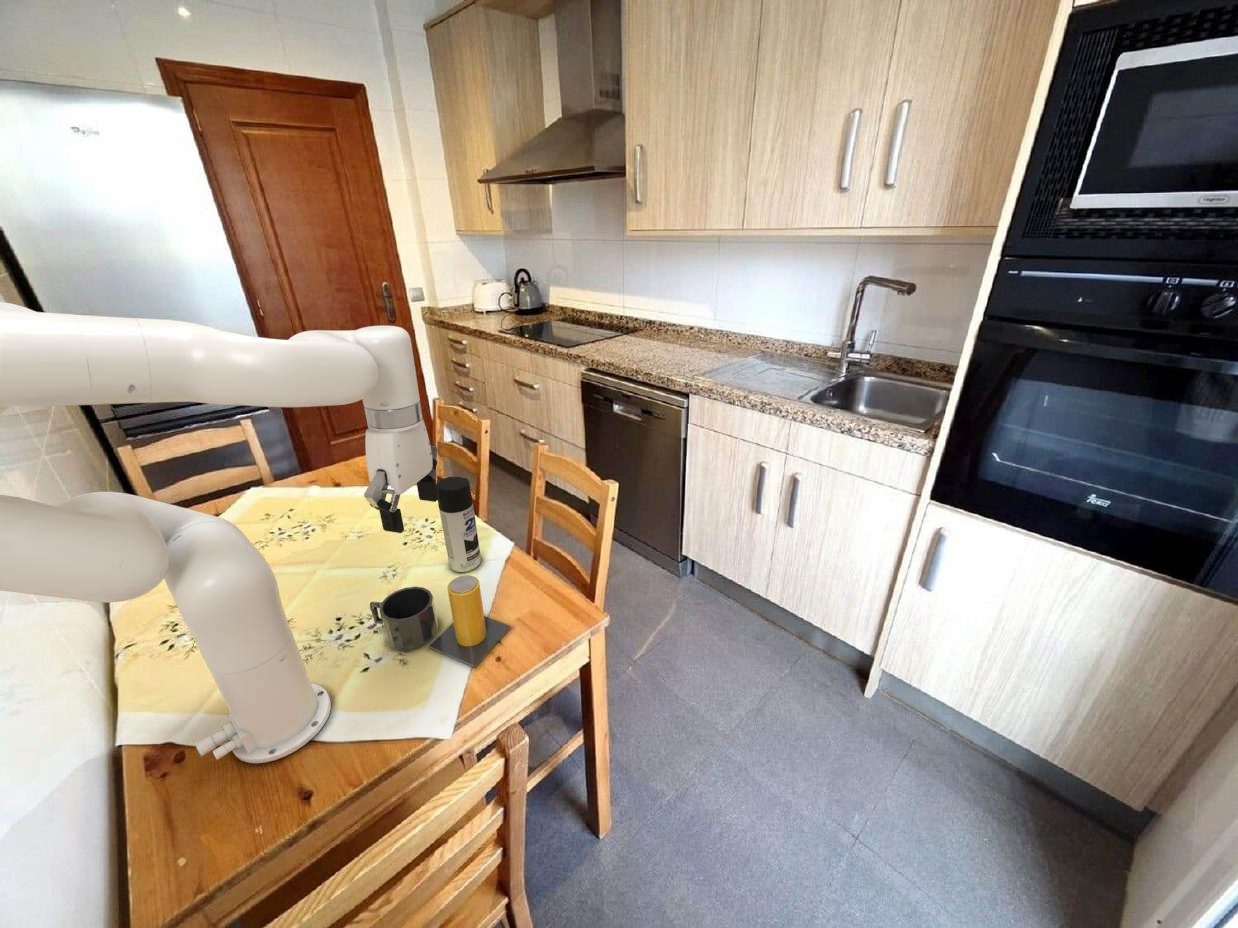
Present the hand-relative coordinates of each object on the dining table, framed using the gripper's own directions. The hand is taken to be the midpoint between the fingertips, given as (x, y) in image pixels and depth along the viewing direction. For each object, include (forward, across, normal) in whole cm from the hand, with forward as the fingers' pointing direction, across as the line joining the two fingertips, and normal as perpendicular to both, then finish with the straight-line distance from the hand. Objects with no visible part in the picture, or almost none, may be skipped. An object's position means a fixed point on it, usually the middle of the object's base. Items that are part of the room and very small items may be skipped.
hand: (412, 514), depth 80 cm
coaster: (+25, 0, +7) cm, 26 cm away
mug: (+25, +1, -5) cm, 25 cm away
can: (+24, 0, +8) cm, 25 cm away
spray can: (+25, -20, -4) cm, 32 cm away
